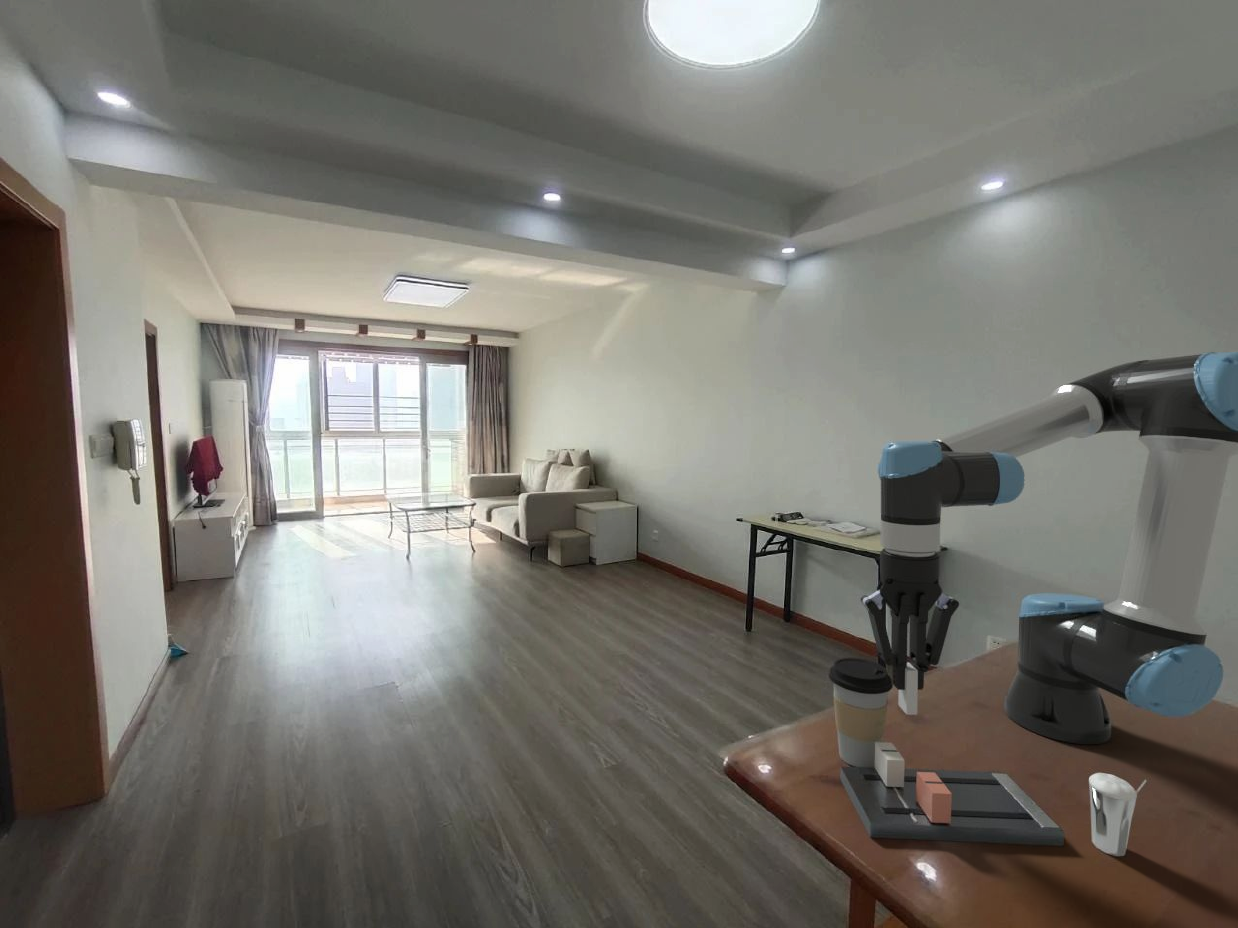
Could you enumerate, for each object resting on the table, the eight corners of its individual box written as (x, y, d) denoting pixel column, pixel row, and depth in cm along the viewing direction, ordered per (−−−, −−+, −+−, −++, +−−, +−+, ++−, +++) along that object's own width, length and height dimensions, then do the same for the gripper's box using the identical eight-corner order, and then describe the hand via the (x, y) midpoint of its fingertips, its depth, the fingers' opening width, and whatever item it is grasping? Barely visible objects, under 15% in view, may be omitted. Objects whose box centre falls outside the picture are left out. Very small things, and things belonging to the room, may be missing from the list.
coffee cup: (897, 779, 84) (900, 683, 83) (832, 771, 86) (834, 678, 85) (881, 743, 94) (884, 657, 93) (822, 737, 96) (824, 653, 94)
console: (1004, 785, 83) (1005, 771, 83) (1063, 845, 71) (1064, 830, 71) (840, 778, 85) (840, 765, 84) (870, 837, 73) (870, 821, 73)
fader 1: (890, 767, 84) (891, 742, 83) (903, 786, 79) (904, 759, 79) (874, 767, 84) (875, 741, 84) (886, 786, 79) (887, 759, 79)
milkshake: (1146, 869, 67) (1151, 790, 67) (1088, 851, 70) (1093, 775, 69) (1136, 845, 71) (1141, 770, 70) (1082, 829, 74) (1086, 757, 73)
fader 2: (933, 800, 76) (934, 771, 76) (950, 823, 72) (951, 793, 72) (915, 799, 77) (916, 771, 76) (931, 822, 72) (932, 792, 72)
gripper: (943, 543, 82) (941, 697, 84) (853, 544, 83) (852, 696, 85) (972, 556, 75) (968, 724, 77) (872, 557, 76) (871, 723, 77)
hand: (907, 709), depth 81 cm, fingers closed
